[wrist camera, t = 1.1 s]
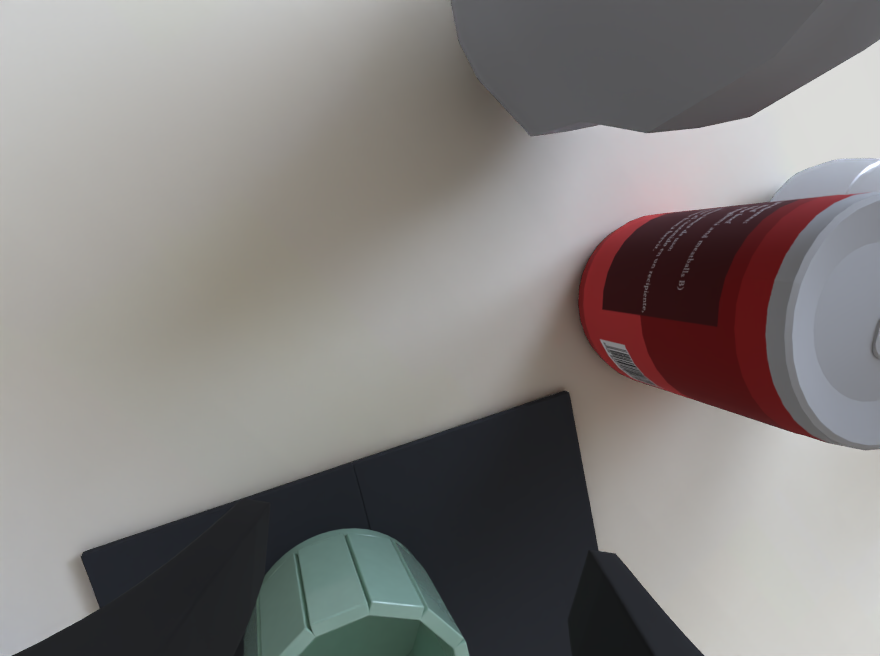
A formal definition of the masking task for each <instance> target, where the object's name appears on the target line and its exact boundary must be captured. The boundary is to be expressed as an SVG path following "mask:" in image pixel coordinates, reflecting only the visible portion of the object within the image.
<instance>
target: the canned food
mask: <svg viewBox="0 0 880 656" xmlns="http://www.w3.org/2000/svg"><path fill="white" fill-rule="evenodd" d="M578 306H579V314H580V320H581V324H582V327H583V330H584V333H585V335H586V337H587V339H588V341H589V342H590V344H591V346H592V348H593V349H594V350H595V351H596V352H597V353H598V355H599V356H600V357H601V358H602V359H603V360H604V361H605V362H606V363H607V364H608V365H609V366H611V367H612V368H613V369H615V370H616V371H617V372H619V373H620V374H622V375H624V376H626V377H628V378H631V379H633V380H635V381H638V382H642V383H645V384H648V385H651V386H654V387H657V388H660V389H663V390H666V391H669V392H672V393H675V394H678V395H681V396H684V397H687V398H690V399H693V400H696V401H699V402H702V403H705V404H708V405H711V406H714V407H717V408H720V409H724V410H727V411H730V412H733V413H736V414H739V415H742V416H745V417H748V418H751V419H754V420H757V421H760V422H763V423H766V424H769V425H772V426H775V427H778V428H781V429H784V430H787V431H790V432H793V433H797V434H801V435H805V436H808V437H811V438H814V439H817V440H820V441H823V442H827V443H831V444H836V445H841V446H846V447H851V448H856V449H861V450H874V449H880V193H879V192H867V193H858V194H848V195H831V196H822V197H813V198H803V199H794V200H785V201H775V202H766V203H757V204H747V205H738V206H729V207H719V208H710V209H701V210H692V211H682V212H673V213H664V214H655V215H648V216H643V217H640V218H638V219H635V220H632V221H630V222H628V223H626V224H625V225H623V226H622V227H620V228H619V229H617V230H615V231H614V232H612V233H611V234H609V235H608V236H607V237H606V238H605V239H604V240H603V241H602V242H601V243H600V244H599V245H598V246H597V247H596V249H595V250H594V252H593V253H592V255H591V256H590V258H589V260H588V262H587V264H586V267H585V269H584V271H583V274H582V278H581V282H580V287H579V299H578Z"/></svg>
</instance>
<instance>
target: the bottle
mask: <svg viewBox="0 0 880 656" xmlns="http://www.w3.org/2000/svg"><path fill="white" fill-rule="evenodd" d="M450 1H451V6H452V11H453V16H454V21H455V26H456V31H457V36H458V41H459V43H460V45H461V47H462V49H463V51H464V53H465V55H466V57H467V59H468V61H469V63H470V65H471V67H472V69H473V71H474V73H475V75H476V77H477V79H478V80H479V81H480V82H481V83H482V84H483V85H484V86H485V87H486V88H487V89H488V91H489V92H490V93H491V94H492V95H493V96H494V97H495V98H496V99H497V100H498V101H499V102H500V103H501V104H502V106H503V107H504V108H505V109H506V110H507V111H508V112H509V113H510V114H511V115H512V116H513V118H514V119H515V120H516V121H517V122H518V123H519V124H520V125H521V126H522V127H523V129H524V130H525V131H526V132H527V133H528V134H529V135H530V136H538V135H545V134H552V133H559V132H566V131H572V130H577V129H582V128H586V127H591V126H596V125H605V126H611V127H616V128H622V129H627V130H633V131H638V132H644V133H653V132H663V131H673V130H683V129H693V128H701V127H705V126H710V125H715V124H719V123H724V122H728V121H733V120H738V119H742V118H747V117H750V116H752V115H754V114H756V113H757V112H759V111H761V110H762V109H764V108H766V107H768V106H769V105H771V104H773V103H774V102H776V101H778V100H779V99H781V98H783V97H785V96H786V95H788V94H790V93H791V92H793V91H795V90H797V89H798V88H800V87H802V86H803V85H805V84H807V83H809V82H810V81H812V80H814V79H815V78H817V77H819V76H821V75H822V74H824V73H826V72H827V71H829V70H831V69H832V68H834V67H836V66H838V65H839V64H841V63H843V62H844V61H846V60H848V59H850V58H851V57H853V56H855V55H856V54H858V53H860V52H862V51H863V50H865V49H866V48H868V47H869V46H871V45H872V44H874V43H875V42H877V41H878V40H879V39H880V0H450Z"/></svg>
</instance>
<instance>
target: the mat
mask: <svg viewBox="0 0 880 656" xmlns="http://www.w3.org/2000/svg"><path fill="white" fill-rule="evenodd" d="M244 499H251V500H258V501H265V502H271V505H270V517H269V529H268V541H267V553H266V565H265V575H266V573H267V572H268V571H269V570H270V569H271V567H272V566H273V565H274V564H275V563H276V562H277V561H278V560H279V559H280V558H281V557H282V556H283V555H284V554H286V553H287V552H288V551H290V550H291V549H292V548H294V547H295V546H297V545H298V544H300V543H302V542H304V541H305V540H307V539H310V538H312V537H314V536H316V535H319V534H322V533H326V532H329V531H333V530H339V529H350V528H358V529H368V530H372V531H377V532H380V533H383V534H385V535H388V536H390V537H392V538H393V539H395V540H397V541H398V542H400V543H401V544H402V545H404V546H405V547H406V548H407V549H408V550H409V551H410V552H411V553H412V554H413V556H414V557H415V558H416V560H417V561H418V562H419V563H420V564H421V565H423V567H424V569H425V570H426V572H427V574H428V575H429V577H430V579H431V581H432V582H433V584H434V586H435V588H436V590H437V591H438V593H439V595H440V597H441V598H442V600H443V602H444V604H445V605H446V607H447V609H448V611H449V613H450V614H451V616H452V618H453V620H454V621H455V623H456V625H457V627H458V628H459V630H460V632H461V634H462V636H463V637H464V639H465V641H466V643H467V647H468V652H469V656H572V653H571V645H570V637H569V628H568V617H569V614H570V610H571V607H572V604H573V601H574V597H575V594H576V591H577V587H578V584H579V581H580V577H581V574H582V571H583V567H584V564H585V561H586V558H587V554H588V551H589V550H594V551H598V545H597V540H596V535H595V529H594V524H593V518H592V513H591V508H590V502H589V497H588V492H587V486H586V481H585V475H584V470H583V465H582V459H581V454H580V448H579V443H578V438H577V432H576V427H575V421H574V416H573V411H572V405H571V400H570V395H569V392H567V391H562V392H559V393H556V394H553V395H550V396H547V397H544V398H541V399H538V400H535V401H532V402H529V403H526V404H523V405H520V406H517V407H514V408H511V409H508V410H505V411H502V412H499V413H496V414H493V415H490V416H487V417H485V418H482V419H479V420H476V421H473V422H470V423H467V424H464V425H461V426H458V427H455V428H452V429H449V430H446V431H443V432H440V433H437V434H434V435H431V436H428V437H425V438H422V439H419V440H416V441H413V442H410V443H407V444H404V445H401V446H398V447H395V448H392V449H389V450H386V451H383V452H380V453H377V454H374V455H371V456H368V457H365V458H362V459H359V460H356V461H353V462H352V463H351V462H350V463H347V464H344V465H341V466H338V467H335V468H332V469H329V470H326V471H323V472H320V473H317V474H314V475H311V476H308V477H305V478H302V479H299V480H296V481H293V482H290V483H287V484H285V485H282V486H279V487H276V488H273V489H270V490H267V491H264V492H261V493H258V494H255V495H252V496H249V497H246V498H244ZM240 500H242V499H240ZM240 500H237V501H234V502H231V503H228V504H225V505H222V506H219V507H216V508H213V509H210V510H207V511H204V512H201V513H198V514H195V515H192V516H189V517H186V518H183V519H180V520H177V521H174V522H171V523H168V524H165V525H162V526H159V527H156V528H153V529H150V530H147V531H144V532H141V533H138V534H135V535H132V536H129V537H126V538H123V539H120V540H117V541H114V542H111V543H108V544H105V545H102V546H99V547H96V548H93V549H90V550H87V551H85V552H83V554H82V556H81V559H82V561H83V564H84V567H85V569H86V572H87V575H88V577H89V580H90V583H91V585H92V588H93V591H94V593H95V596H96V599H97V601H98V604H99V607H100V608H102V607H103V606H105V605H107V604H108V603H110V602H111V601H113V600H114V599H116V598H118V597H119V596H121V595H122V594H124V593H125V592H127V591H128V590H129V589H131V588H132V587H134V586H135V585H137V584H138V583H140V582H141V581H142V580H144V579H145V578H146V577H148V576H149V575H150V574H152V573H153V572H154V571H156V570H157V569H159V568H160V567H161V566H163V565H164V564H165V563H167V562H168V561H169V560H171V559H172V558H173V557H174V556H176V555H177V554H178V553H179V552H181V551H182V550H183V549H184V548H185V547H187V546H188V545H189V544H190V543H192V542H193V541H194V540H195V539H196V538H198V537H199V536H200V535H201V534H202V533H204V532H205V531H206V530H207V529H208V528H209V527H210V526H212V525H213V524H214V523H215V522H216V521H217V520H218V519H220V518H221V517H222V516H223V515H224V514H225V513H226V512H227V511H228V510H230V509H231V508H232V507H233V506H234V505H235V504H236V503H237V502H239V501H240ZM245 632H246V630H245ZM245 632H244V634H243V636H242V639H241V641H240V643H239V645H238V647H237V649H236V651H235V654H234V656H244V635H245Z"/></svg>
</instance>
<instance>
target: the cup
mask: <svg viewBox="0 0 880 656" xmlns="http://www.w3.org/2000/svg"><path fill="white" fill-rule="evenodd" d="M244 656H469V652H468V647H467V643H466V641H465V639H464V637H463V636H462V634H461V632H460V630H459V628H458V627H457V625H456V623H455V621H454V620H453V618H452V616H451V614H450V613H449V611H448V609H447V607H446V605H445V604H444V602H443V600H442V598H441V597H440V595H439V593H438V591H437V590H436V588H435V586H434V584H433V582H432V581H431V579H430V577H429V575H428V574H427V572H426V570H425V569H424V567H423V565H421V564H420V563H419V562H418V561H417V560H416V558H415V557H414V556H413V554H412V553H411V552H410V551H409V550H408V549H407V548H406V547H405V546H404V545H402V544H401V543H400V542H398V541H397V540H395V539H393V538H392V537H390V536H388V535H385V534H383V533H380V532H377V531H372V530H368V529H358V528H350V529H339V530H333V531H329V532H326V533H322V534H319V535H316V536H314V537H312V538H310V539H307V540H305V541H304V542H302V543H300V544H298V545H297V546H295V547H294V548H292V549H291V550H290V551H288V552H287V553H286V554H284V555H283V556H282V557H281V558H280V559H279V560H278V561H277V562H276V563H275V564H274V565H273V566H272V567H271V569H270V570H269V571H268V572H267V573H266V575H265V576H264V580H263V583H262V586H261V589H260V592H259V595H258V598H257V601H256V604H255V607H254V609H253V612H252V615H251V618H250V621H249V623H248V625H247V628H246V632H245V635H244Z"/></svg>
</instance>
